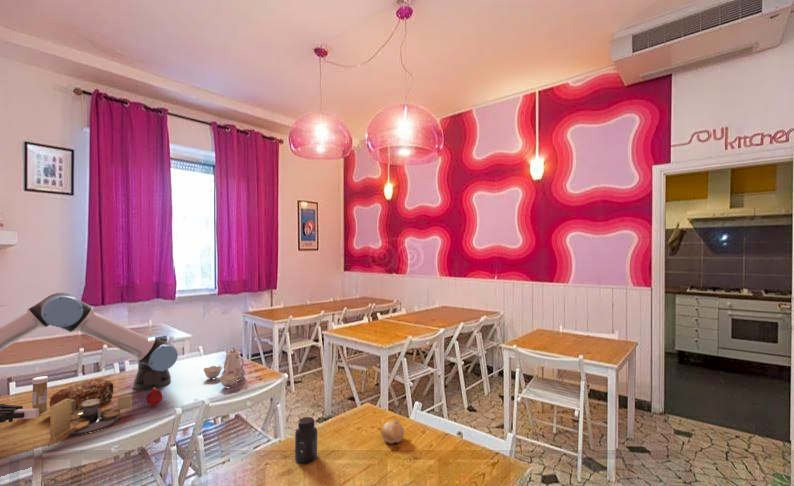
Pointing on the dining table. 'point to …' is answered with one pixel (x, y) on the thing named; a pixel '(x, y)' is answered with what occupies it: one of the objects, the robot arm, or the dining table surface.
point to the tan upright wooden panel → (63, 422)
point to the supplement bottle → (306, 441)
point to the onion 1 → (154, 397)
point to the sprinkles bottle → (40, 393)
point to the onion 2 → (392, 432)
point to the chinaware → (228, 369)
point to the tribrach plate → (98, 414)
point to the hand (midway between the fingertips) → (37, 413)
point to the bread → (85, 393)
